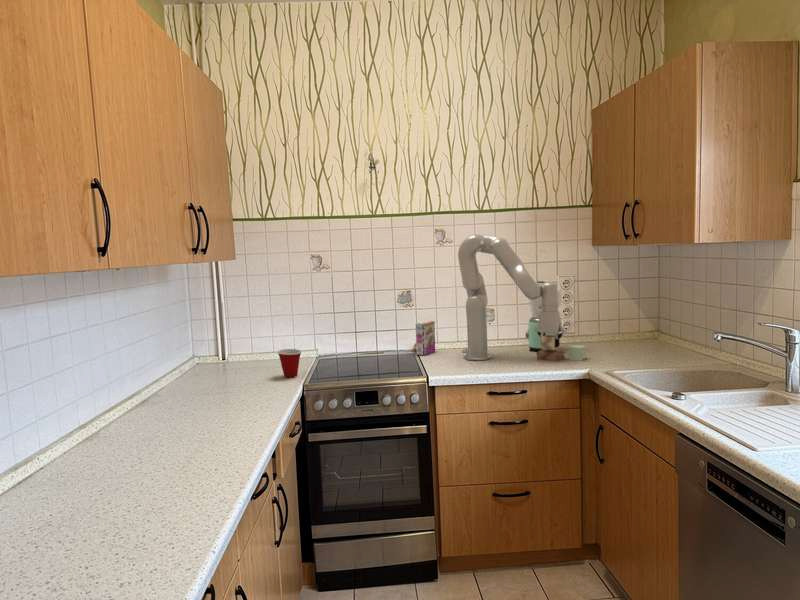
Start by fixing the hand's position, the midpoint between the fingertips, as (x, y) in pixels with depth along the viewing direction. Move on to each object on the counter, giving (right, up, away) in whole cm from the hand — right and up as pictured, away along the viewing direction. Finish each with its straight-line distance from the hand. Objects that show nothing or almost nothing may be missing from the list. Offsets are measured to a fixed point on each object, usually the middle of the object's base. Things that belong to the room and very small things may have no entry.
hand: (550, 346), depth 282 cm
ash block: (0, -1, 0) cm, 1 cm away
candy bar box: (-58, -6, +26) cm, 64 cm away
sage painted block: (+12, -6, -2) cm, 14 cm away
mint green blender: (+2, -4, +21) cm, 22 cm away
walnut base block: (0, -6, +1) cm, 6 cm away
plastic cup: (-120, -13, -12) cm, 122 cm away
